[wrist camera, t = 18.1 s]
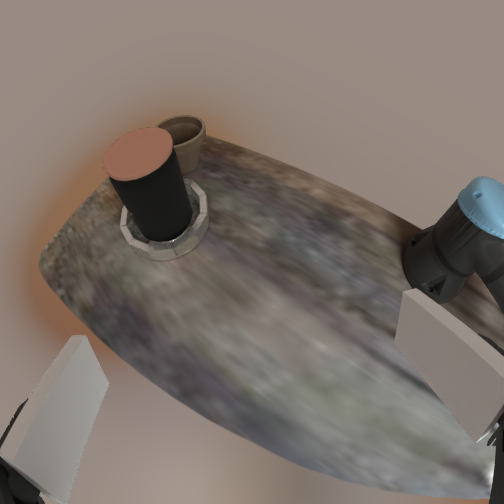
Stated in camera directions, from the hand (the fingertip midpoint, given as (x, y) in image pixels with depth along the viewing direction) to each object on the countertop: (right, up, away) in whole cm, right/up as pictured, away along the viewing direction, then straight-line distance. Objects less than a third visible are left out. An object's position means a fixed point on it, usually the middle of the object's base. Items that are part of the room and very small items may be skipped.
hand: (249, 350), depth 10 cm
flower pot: (-15, +23, +48) cm, 56 cm away
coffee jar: (-16, +10, +40) cm, 44 cm away
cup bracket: (-16, +9, +41) cm, 45 cm away
